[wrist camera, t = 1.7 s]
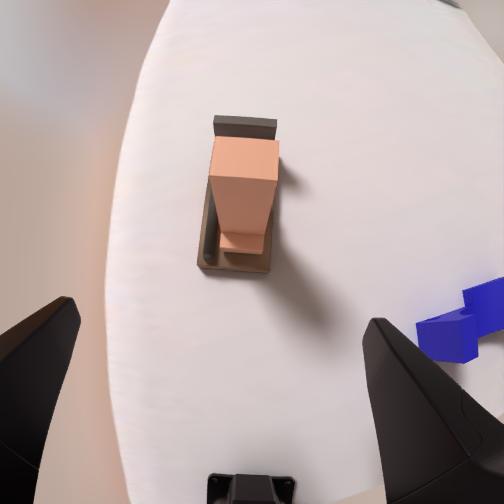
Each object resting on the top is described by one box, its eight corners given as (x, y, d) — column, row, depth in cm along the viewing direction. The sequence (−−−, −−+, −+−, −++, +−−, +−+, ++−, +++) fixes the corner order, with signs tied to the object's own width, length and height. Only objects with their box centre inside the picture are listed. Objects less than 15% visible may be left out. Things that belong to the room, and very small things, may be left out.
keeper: (262, 254, 20) (276, 202, 12) (220, 251, 20) (205, 197, 12) (265, 200, 21) (279, 123, 13) (226, 197, 21) (218, 119, 13)
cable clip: (497, 278, 22) (538, 266, 16) (503, 321, 21) (545, 316, 15) (411, 305, 21) (456, 297, 16) (418, 358, 20) (464, 363, 15)
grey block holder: (268, 273, 21) (274, 259, 17) (198, 267, 21) (187, 252, 17) (275, 153, 24) (281, 120, 19) (214, 148, 24) (210, 115, 19)
